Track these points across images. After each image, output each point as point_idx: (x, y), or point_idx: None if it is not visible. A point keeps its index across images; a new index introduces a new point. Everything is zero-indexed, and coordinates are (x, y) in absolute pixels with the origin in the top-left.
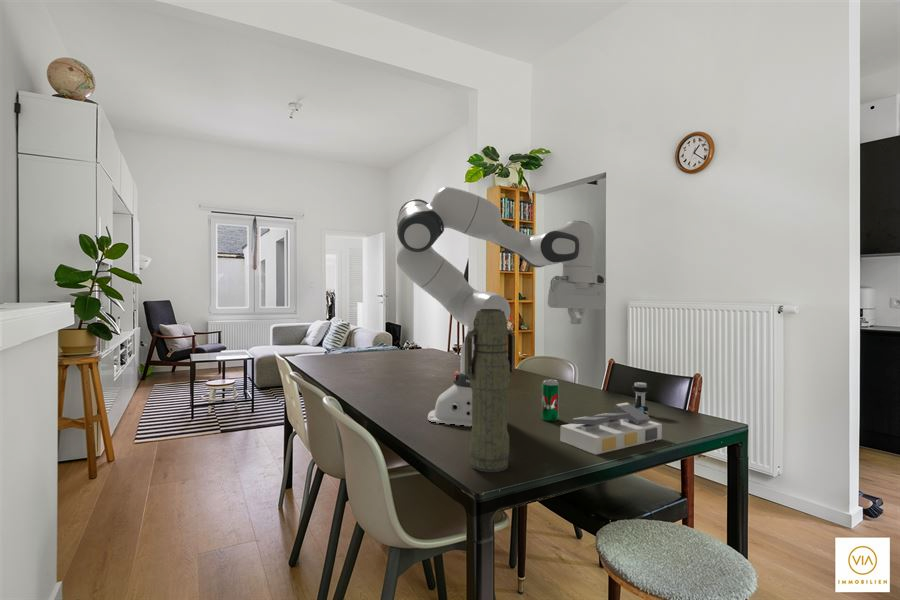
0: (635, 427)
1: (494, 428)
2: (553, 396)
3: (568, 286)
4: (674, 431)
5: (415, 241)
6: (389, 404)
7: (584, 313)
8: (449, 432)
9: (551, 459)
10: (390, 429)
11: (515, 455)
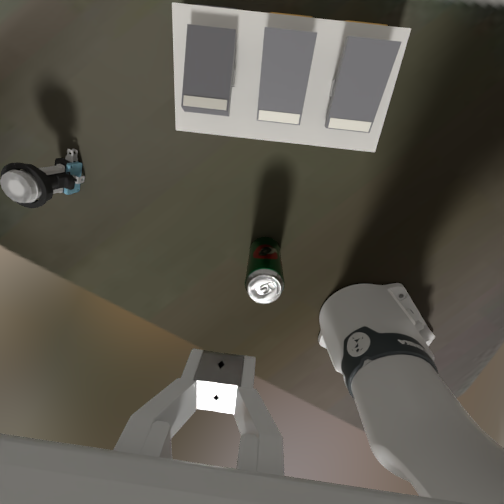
0: (255, 28)
1: None
2: (273, 258)
3: None
4: (107, 38)
5: None
6: None
7: (144, 409)
8: (453, 289)
9: (477, 80)
10: (497, 342)
11: (497, 140)
